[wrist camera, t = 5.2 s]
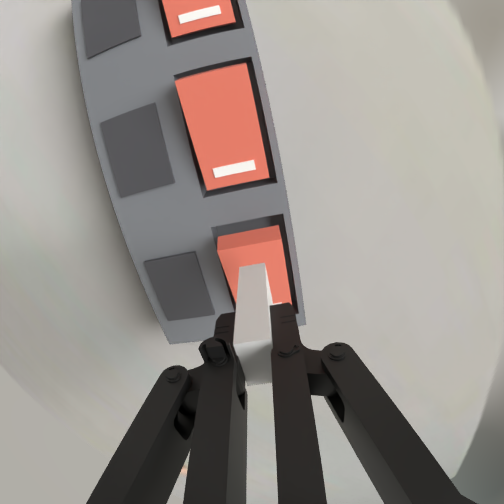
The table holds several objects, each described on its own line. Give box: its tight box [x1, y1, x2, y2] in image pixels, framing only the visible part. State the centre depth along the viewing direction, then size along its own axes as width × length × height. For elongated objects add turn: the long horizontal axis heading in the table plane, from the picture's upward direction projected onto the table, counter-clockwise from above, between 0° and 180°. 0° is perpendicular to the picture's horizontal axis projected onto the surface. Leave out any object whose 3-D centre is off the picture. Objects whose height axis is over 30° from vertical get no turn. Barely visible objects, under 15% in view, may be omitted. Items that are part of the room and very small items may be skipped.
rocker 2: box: [175, 63, 269, 190], centre depth 18 cm, size 4×8×2 cm, turn 11°
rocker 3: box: [217, 225, 292, 305], centre depth 23 cm, size 4×8×2 cm, turn 11°
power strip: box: [72, 0, 306, 344], centre depth 22 cm, size 13×44×4 cm, turn 11°
